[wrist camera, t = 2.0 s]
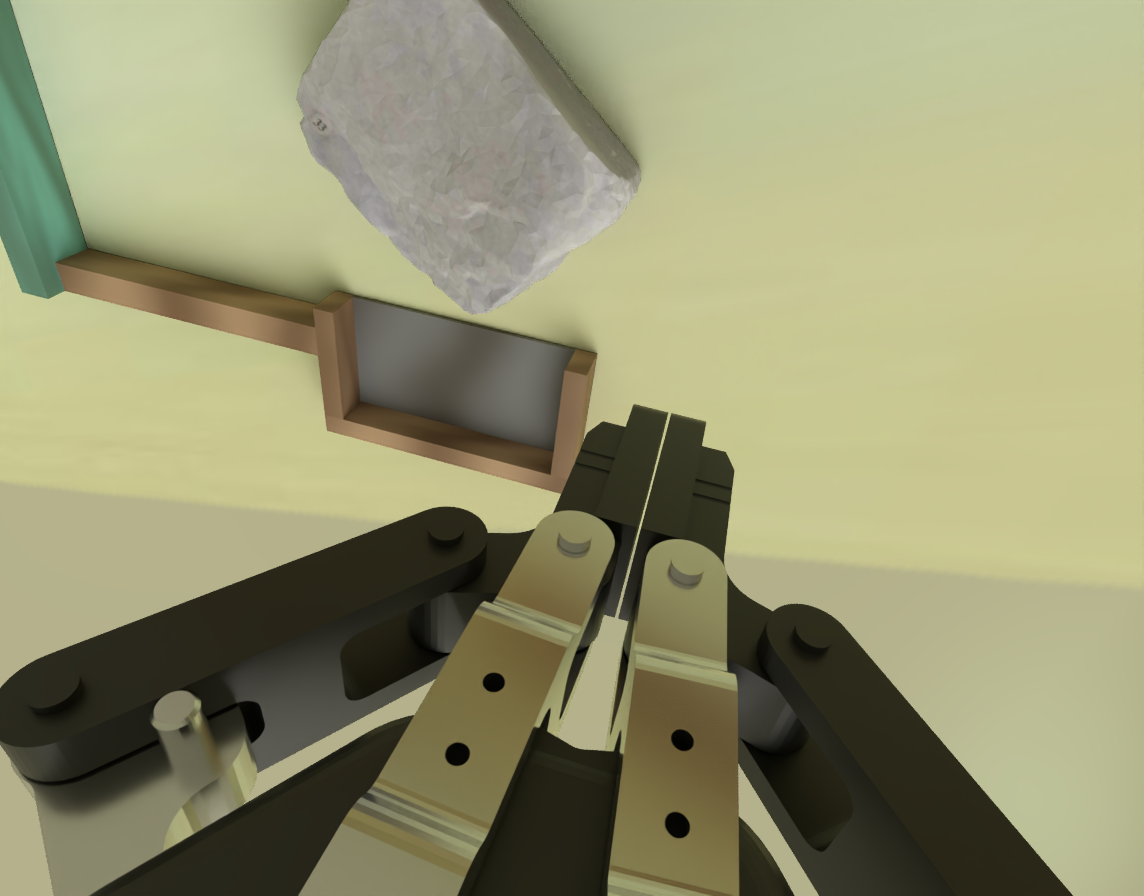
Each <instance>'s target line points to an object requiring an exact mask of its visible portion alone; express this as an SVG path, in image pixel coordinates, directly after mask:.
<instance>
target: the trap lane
mask: <svg viewBox="0 0 1144 896" xmlns="http://www.w3.org/2000/svg"><path fill="white" fill-rule="evenodd" d="M0 236H1V239H2V242H3V244H4V247H5V249H6V252H7V254H8V257H9V260H10V262H11V265H12V267H13V270H14V273H15V275H16V278H17V280H18V283H19V285H20V288H21V291H22V292H23V293H27V294H31V295H35V296H39V297H43V298H47V299H49V298H51V297H53V296H55V295H57V294H59V293H61V292H63V291H67V292H71V293H75V294H79V295H83V296H87V297H91V298H95V299H99V300H103V301H107V302H111V303H114V304H118V305H122V306H126V307H130V308H134V309H138V310H142V311H146V312H150V313H154V314H158V315H161V316H165V317H169V318H173V319H177V320H181V321H185V322H189V323H193V324H197V325H201V326H205V327H208V328H212V329H216V330H220V331H224V332H228V333H232V334H236V335H240V336H244V337H248V338H252V339H256V340H259V341H263V342H267V343H271V344H275V345H279V346H283V347H287V348H291V349H295V350H299V351H303V352H306V353H310V354H314V355H318V358H319V367H320V375H321V384H322V393H323V401H324V410H325V418H326V427H327V431H331V432H334V433H338V434H342V435H345V436H349V437H353V438H356V439H360V440H364V441H368V442H371V443H375V444H379V445H382V446H386V447H390V448H393V449H397V450H401V451H405V452H408V453H412V454H416V455H419V456H423V457H427V458H431V459H434V460H438V461H442V462H445V463H449V464H453V465H456V466H460V467H464V468H468V469H471V470H475V471H479V472H482V473H486V474H490V475H493V476H497V477H501V478H505V479H508V480H512V481H516V482H519V483H523V484H527V485H531V486H534V487H538V488H542V489H545V490H549V491H553V492H556V493H560V494H562V491H563V489H564V487H565V484H566V482H567V479H568V477H569V475H570V472H571V470H572V468H573V465H574V464H575V461H576V458H577V456H578V453H579V452H580V449H581V446H582V444H583V438H584V432H585V426H586V420H587V414H588V408H589V401H590V395H591V389H592V383H593V377H594V371H595V365H596V359H597V354H595V353H591V352H587V351H583V350H578V349H574V348H570V347H566V346H562V345H558V344H554V343H549V342H545V341H541V340H537V339H533V338H529V337H525V336H520V335H516V334H512V333H508V332H504V331H500V330H496V329H491V328H487V327H483V326H479V325H475V324H471V323H467V322H462V321H458V320H454V319H450V318H446V317H442V316H438V315H433V314H429V313H425V312H421V311H417V310H413V309H409V308H404V307H400V306H396V305H392V304H388V303H384V302H379V301H375V300H371V299H367V298H363V297H359V296H355V295H350V294H346V293H342V292H338V291H335V292H333V293H332V294H331V295H329V296H328V297H327V298H325V299H324V300H323V301H322V302H320V303H319V304H318V305H316V304H312V303H308V302H304V301H300V300H295V299H291V298H287V297H283V296H279V295H275V294H271V293H267V292H263V291H259V290H255V289H251V288H246V287H242V286H238V285H234V284H230V283H226V282H222V281H218V280H214V279H210V278H206V277H202V276H197V275H193V274H189V273H185V272H181V271H177V270H173V269H169V268H165V267H161V266H157V265H153V264H148V263H144V262H140V261H136V260H132V259H128V258H124V257H120V256H116V255H112V254H108V253H104V252H99V251H95V250H91V249H87V246H86V243H85V240H84V237H83V233H82V230H81V227H80V224H79V221H78V217H77V214H76V211H75V208H74V205H73V202H72V198H71V195H70V192H69V189H68V186H67V182H66V179H65V176H64V173H63V170H62V167H61V163H60V160H59V157H58V154H57V151H56V147H55V144H54V141H53V138H52V135H51V132H50V128H49V125H48V122H47V119H46V116H45V112H44V109H43V106H42V103H41V100H40V96H39V93H38V90H37V87H36V84H35V81H34V77H33V74H32V71H31V68H30V65H29V61H28V58H27V55H26V52H25V49H24V46H23V42H22V39H21V36H20V33H19V30H18V26H17V23H16V20H15V17H14V14H13V11H12V7H11V4H10V1H9V0H0Z"/></svg>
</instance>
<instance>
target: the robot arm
mask: <svg viewBox="0 0 1144 896" xmlns="http://www.w3.org/2000/svg"><path fill="white" fill-rule="evenodd" d="M667 416H668V412H664V411H660V410H656V409H652V408H648V407H644V406H640V405H636V404H634V405H633V408H632V411H631V414H630V416H629V419H628V422H627V425H626V427H623V426H619V425H615V424H611V423H607V422H601V423H600V424H599V425H597V426H596V427H595V428H593V429H592V430H591V431H589V432H588V433H587V435H586V437H585V439H584V442H583V444H582V446H581V449H580V452H579V453H578V456H577V458H576V461H575V464H574V465H573V468H572V470H571V472H570V475H569V477H568V479H567V482H566V484H565V487H564V489H563V491H562V494H561V496H560V498H559V501H558V503H557V505H556V508H555V510H554V512H553V514H550V515H548V516H547V517H545V518H544V519H542V520H541V521H540V522H539V524H538V525H537V527H536V528H535V529H533V530H530V531H526V532H521V533H487V529H486V526H485V524H484V523H483V522H482V520H481V519H480V518H479V517H478V516H476V515H475V514H473V513H471V512H469V511H467V510H464V509H461V508H456V507H437V508H432V509H429V510H425V511H423V512H420V513H418V514H415V515H412V516H410V517H407V518H404V519H402V520H399V521H397V522H394V523H391V524H389V525H386V526H384V527H381V528H378V529H376V530H373V531H371V532H368V533H366V534H363V535H360V536H357V537H355V538H352V539H349V540H347V541H344V542H342V543H339V544H336V545H334V546H331V547H329V548H326V549H324V550H321V551H318V552H316V553H313V554H310V555H308V556H305V557H303V558H300V559H297V560H295V561H292V562H289V563H287V564H284V565H281V566H279V567H276V568H274V569H271V570H268V571H266V572H263V573H261V574H258V575H255V576H253V577H250V578H247V579H245V580H242V581H240V582H237V583H234V584H232V585H229V586H226V587H224V588H221V589H219V590H216V591H213V592H211V593H208V594H206V595H203V596H200V597H198V598H195V599H193V600H190V601H187V602H185V603H182V604H179V605H177V606H174V607H172V608H169V609H166V610H164V611H161V612H158V613H156V614H153V615H151V616H148V617H145V618H143V619H140V620H138V621H135V622H132V623H130V624H127V625H124V626H122V627H119V628H116V629H114V630H111V631H109V632H106V633H103V634H101V635H98V636H96V637H93V638H90V639H88V640H85V641H82V642H80V643H77V644H75V645H72V646H69V647H67V648H64V649H61V650H59V651H56V652H54V653H51V654H49V655H46V656H44V657H41V658H39V659H37V660H35V661H33V662H31V663H30V664H28V665H26V666H25V667H23V668H22V669H20V670H19V671H18V672H16V673H15V674H14V675H13V676H11V677H10V678H9V679H8V680H7V681H6V683H4V684H3V685H2V687H1V688H0V745H1V747H2V748H3V749H4V751H5V752H6V754H7V755H8V756H9V758H10V760H11V766H12V767H13V770H14V772H15V773H16V775H17V776H18V777H19V778H20V780H21V782H22V783H23V784H24V786H25V787H26V788H27V790H28V791H29V793H30V794H31V795H32V797H33V798H34V800H35V801H36V804H37V810H38V815H39V820H40V825H41V831H42V836H43V841H44V847H45V851H46V857H47V863H48V867H49V873H50V878H51V884H52V889H53V894H54V896H794V894H793V892H792V890H791V889H790V887H789V885H788V883H787V881H786V879H785V878H784V876H783V874H782V872H781V871H780V869H779V867H778V865H777V864H776V862H775V860H774V858H773V857H772V855H771V854H770V852H769V851H768V850H767V848H766V847H765V845H764V844H763V842H762V841H761V840H760V838H759V837H758V836H757V835H756V834H755V833H754V832H753V830H752V829H751V828H750V827H749V826H748V825H747V824H746V823H745V822H744V821H743V820H742V819H741V818H740V817H739V812H738V810H739V805H738V764H739V765H740V767H741V769H742V770H743V771H744V774H745V775H746V777H747V778H748V780H749V782H750V783H751V785H752V787H753V788H754V790H755V791H756V793H757V795H758V796H759V798H760V800H761V801H762V803H763V805H764V806H765V808H766V809H767V811H768V813H769V814H770V816H771V818H772V819H773V821H774V823H775V824H776V826H777V827H778V829H779V831H780V832H781V834H782V836H783V837H784V839H785V841H786V842H787V844H788V845H789V847H790V849H791V850H792V852H793V854H794V855H795V857H796V858H797V860H798V862H799V863H800V865H801V867H802V868H803V870H804V872H805V873H806V874H807V877H808V878H809V880H810V881H811V883H812V885H813V886H814V888H815V890H816V891H817V893H818V894H819V896H1073V895H1072V894H1071V893H1070V892H1069V891H1068V889H1067V888H1066V887H1065V886H1064V885H1063V883H1062V882H1061V881H1060V880H1059V879H1058V878H1057V877H1056V875H1055V874H1054V873H1053V872H1052V871H1051V870H1050V868H1049V867H1048V866H1047V865H1046V863H1045V862H1044V861H1043V860H1042V859H1041V858H1040V856H1039V855H1038V854H1037V853H1036V852H1035V851H1034V849H1033V848H1032V847H1031V846H1030V845H1029V843H1028V842H1027V841H1026V840H1025V839H1024V838H1023V836H1022V835H1021V834H1020V833H1019V832H1018V831H1017V829H1016V828H1015V827H1014V826H1013V825H1012V824H1011V822H1010V821H1009V820H1008V819H1007V818H1006V817H1005V815H1004V814H1003V813H1002V812H1001V811H1000V809H999V808H998V807H997V806H996V805H995V804H994V802H993V801H992V800H991V799H990V798H989V797H988V795H987V794H986V793H985V792H984V791H983V790H982V789H981V787H980V786H979V785H978V784H977V782H976V781H975V780H974V779H973V778H972V777H971V775H970V774H969V773H968V772H967V771H966V769H965V768H964V767H963V766H962V765H961V764H960V762H959V761H958V760H957V759H956V758H955V757H954V755H953V754H952V753H951V752H950V751H949V750H948V749H947V747H946V746H945V745H944V744H943V742H942V741H941V740H940V739H939V738H938V737H937V735H936V734H935V733H934V732H933V731H932V730H931V729H930V727H929V726H928V725H927V724H926V722H925V721H924V720H923V719H922V718H921V717H920V715H919V714H918V713H917V712H916V711H915V710H914V708H913V707H912V706H911V705H910V704H909V703H908V701H907V700H906V699H905V698H904V697H903V695H902V694H901V693H900V692H899V691H898V690H897V688H896V687H895V686H894V685H893V684H892V683H891V681H890V680H889V679H888V678H887V677H886V675H885V674H884V673H883V672H882V671H881V670H880V669H879V667H878V666H877V665H876V664H875V663H874V661H873V660H872V659H871V658H870V657H869V656H868V654H867V653H866V652H865V651H864V650H863V648H862V647H861V646H860V645H859V644H858V643H857V642H856V640H855V639H854V638H853V637H852V636H851V634H850V633H849V632H848V631H847V630H846V629H845V627H844V626H843V625H842V624H841V623H840V622H839V621H837V620H836V619H835V618H834V617H832V616H831V615H829V614H828V613H826V612H824V611H822V610H820V609H817V608H815V607H812V606H808V605H804V604H788V605H784V606H781V607H779V608H777V609H776V610H774V611H771V610H769V609H768V608H766V607H764V606H762V605H760V604H758V603H757V602H755V601H753V600H752V599H750V598H749V597H747V596H746V595H745V594H743V593H742V592H741V591H740V590H739V589H738V588H737V587H736V586H735V585H734V584H733V582H732V581H731V580H730V578H729V576H728V575H727V572H726V569H725V566H724V553H725V545H726V536H727V528H728V520H729V511H730V503H731V494H732V486H733V478H734V469H733V466H732V464H731V462H730V460H729V458H728V456H727V454H726V452H723V451H719V450H715V449H711V448H707V447H703V446H702V442H703V437H704V431H705V426H706V422H705V421H701V420H697V419H693V418H689V417H685V416H681V415H677V414H673V413H671V417H670V421H669V424H668V428H667V432H666V436H665V440H664V443H663V447H662V451H661V455H660V458H659V462H658V466H657V470H656V474H655V477H654V481H653V485H652V489H651V492H650V496H649V500H648V504H647V508H646V511H645V515H644V519H643V523H642V527H641V530H640V534H639V538H638V542H637V546H636V550H635V554H634V558H633V562H632V566H631V570H630V574H629V578H628V582H627V586H626V590H625V594H624V598H623V602H622V605H621V609H620V613H619V619H622V620H626V621H629V622H628V626H627V630H626V634H625V638H624V642H623V646H622V650H621V653H620V657H619V662H618V669H617V676H616V682H615V688H614V695H613V701H612V708H611V715H610V721H609V727H608V734H607V741H606V747H605V751H598V750H582V749H578V748H575V747H573V746H571V745H569V744H568V743H566V742H564V741H563V740H561V739H559V738H558V737H557V736H558V733H559V731H560V728H561V725H562V723H563V720H564V718H565V715H566V712H567V710H568V707H569V705H570V702H571V700H572V697H573V695H574V692H575V690H576V687H577V685H578V682H579V679H580V677H581V674H582V672H583V669H584V667H585V664H586V662H587V659H588V657H589V654H590V651H591V648H592V644H593V641H594V640H595V638H596V637H597V635H598V633H599V630H600V626H601V623H602V619H603V616H604V615H607V616H611V617H615V614H616V610H617V607H618V603H619V599H620V596H621V592H622V588H623V585H624V581H625V577H626V573H627V570H628V566H629V562H630V558H631V555H632V551H633V547H634V544H635V540H636V536H637V532H638V529H639V525H640V521H641V518H642V514H643V510H644V506H645V503H646V499H647V495H648V491H649V487H650V484H651V480H652V476H653V472H654V468H655V464H656V460H657V456H658V452H659V448H660V444H661V440H662V436H663V432H664V428H665V424H666V420H667ZM434 679H436V680H435V681H434V683H433V685H432V686H431V688H430V690H429V691H428V693H427V695H426V696H425V698H424V700H423V702H422V704H421V705H420V707H419V708H418V711H417V712H416V713H415V715H412V716H408V717H404V718H400V719H397V720H394V721H391V722H389V723H387V724H384V725H382V726H379V727H377V728H375V729H373V730H371V731H369V732H368V733H366V734H364V735H362V736H361V737H359V738H357V739H355V740H354V741H352V742H350V743H349V744H347V745H345V746H343V747H342V748H340V749H338V750H337V751H335V752H333V753H332V754H330V755H328V756H326V757H325V758H323V759H321V760H320V761H318V762H316V763H314V764H313V765H311V766H309V767H308V768H306V769H304V770H302V771H301V772H299V773H297V774H295V775H294V776H292V777H290V778H289V779H287V780H285V781H284V782H282V783H280V784H278V785H277V786H275V787H273V788H271V789H270V790H268V791H266V792H265V793H263V794H261V795H259V796H258V797H256V798H254V799H253V800H251V801H249V802H247V803H246V804H244V802H245V801H246V800H247V798H248V797H249V795H250V793H251V791H252V789H253V787H254V784H255V781H256V777H257V773H259V772H260V771H262V770H264V769H266V768H268V767H270V766H272V765H274V764H275V763H277V762H279V761H281V760H283V759H285V758H287V757H289V756H291V755H293V754H295V753H296V752H298V751H300V750H302V749H304V748H306V747H308V746H310V745H312V744H313V743H315V742H317V741H319V740H321V739H323V738H325V737H326V736H329V735H330V734H332V733H334V732H336V731H338V730H340V729H342V728H344V727H346V726H347V725H349V724H351V723H353V722H355V721H357V720H359V719H361V718H363V717H364V716H366V715H368V714H370V713H372V712H374V711H376V710H378V709H380V708H382V707H383V706H385V705H387V704H389V703H391V702H393V701H395V700H397V699H399V698H400V697H402V696H404V695H406V694H408V693H410V692H412V691H414V690H416V689H417V688H419V687H421V686H423V685H425V684H427V683H429V682H431V681H433V680H434ZM243 804H244V805H243Z"/></svg>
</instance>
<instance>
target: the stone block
mask: <svg viewBox="0 0 1144 896" xmlns="http://www.w3.org/2000/svg"><path fill="white" fill-rule="evenodd" d="M297 101H298V103H299V106H300V108H301V110H302V112H303V115H304V117H303V119H302V121H301V122H300V124H301V129H302V132H303V134H304V136H305V138H306V141H307V144H308V147H309V150H310V153H311V155H312V156H313V157H314V158H315V160H316V161H317V162H318V163H319V164H320V165H322V166H323V167H324V168H326V169H327V170H328V171H330V172H331V173H332V174H334V176H335V177H336V178H337V179H338V180H339V182H340V183H341V184H342V186H343V189H344V191H345V193H346V195H347V197H348V198H349V199H350V201H351V202H352V203H353V204H354V206H355V207H356V208H357V209H358V210H359V211H360V212H361V214H362V215H363V216H364V217H365V218H366V219H367V220H368V221H369V222H370V223H371V224H372V225H373V226H374V227H376V228H377V229H378V230H379V231H380V232H381V233H382V234H383V235H386V236H388V237H389V238H390V240H391V242H392V243H393V244H394V245H395V247H396V248H397V249H398V250H399V251H400V253H401V254H402V255H403V256H404V257H405V258H406V259H408V260H409V261H410V262H411V263H412V264H413V265H414V266H415V267H416V268H418V269H419V270H420V271H422V272H424V273H425V274H427V275H429V276H430V277H431V279H432V280H433V283H434V285H435V286H437V287H438V288H439V289H441V290H442V291H443V292H444V293H445V294H446V295H447V296H448V297H450V298H451V299H452V300H453V301H454V302H455V303H456V304H458V305H459V306H460V307H461V308H462V309H463V310H464V311H467V312H469V313H470V314H478V313H488V312H490V311H492V310H494V309H495V308H498V307H499V306H501V305H503V304H505V303H507V302H508V301H510V300H511V299H513V298H514V297H515V296H517V295H518V294H520V293H521V292H523V291H524V290H526V289H528V288H529V287H530V286H531V285H532V284H533V283H535V282H537V281H539V280H542V279H544V278H545V277H547V276H548V275H549V274H550V273H552V272H553V271H555V270H557V269H558V266H559V265H560V264H561V262H562V261H563V260H564V258H565V257H566V255H567V254H568V253H569V252H570V251H571V250H573V249H575V248H577V247H579V246H581V245H583V244H585V243H587V242H588V241H590V240H591V239H592V238H594V237H595V236H596V235H598V234H599V233H601V232H602V231H603V230H605V229H606V228H608V227H610V226H611V225H612V224H613V223H614V222H615V221H616V220H618V219H619V218H620V216H621V214H622V213H623V211H624V210H625V209H626V207H627V206H628V204H629V203H630V202H631V200H632V199H633V198H634V196H635V194H636V192H637V190H638V186H639V183H640V181H641V171H640V168H639V166H638V164H637V162H636V161H635V159H634V158H633V157H632V156H631V155H630V153H629V152H628V151H627V149H626V148H625V146H624V145H623V144H622V142H621V141H620V140H619V139H618V138H617V136H616V135H615V134H614V133H613V132H612V130H611V129H610V128H609V127H608V126H607V125H606V124H605V122H604V121H603V120H602V118H601V117H600V116H599V115H598V113H597V112H596V111H595V109H594V108H593V107H592V106H591V104H590V103H589V102H588V101H587V100H586V98H585V97H584V96H583V95H582V94H581V92H580V91H579V90H578V89H577V87H576V86H575V85H574V84H573V82H572V81H571V80H570V79H569V77H568V76H567V75H566V73H565V72H564V71H563V70H562V68H561V67H560V66H559V65H558V63H557V62H556V61H555V60H554V59H553V58H552V56H551V55H550V54H549V53H548V51H547V50H546V49H545V48H544V46H543V45H542V44H541V43H540V41H539V40H538V39H537V38H536V36H535V35H534V34H533V32H532V31H531V30H530V29H529V27H528V26H527V25H526V24H525V23H524V21H523V20H522V19H521V18H520V17H519V15H518V14H517V13H516V12H515V11H514V10H513V9H512V8H511V6H510V5H509V4H508V3H507V2H506V0H350V1H349V3H348V4H347V6H346V7H345V9H344V10H343V12H342V13H341V15H340V16H339V18H338V19H337V21H336V22H335V24H334V26H333V27H332V29H331V31H330V32H329V33H328V35H327V36H326V38H325V39H324V40H323V41H322V42H321V44H320V46H319V48H318V50H317V52H316V54H315V56H314V58H313V59H312V61H311V63H310V64H309V66H308V67H307V69H306V70H305V72H304V73H303V76H302V79H301V82H300V85H299V88H298V94H297Z"/></svg>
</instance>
